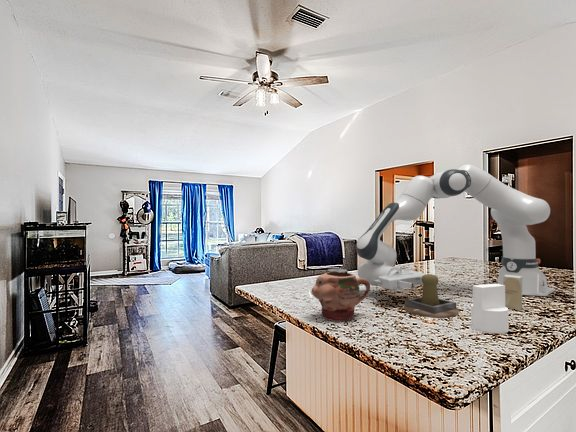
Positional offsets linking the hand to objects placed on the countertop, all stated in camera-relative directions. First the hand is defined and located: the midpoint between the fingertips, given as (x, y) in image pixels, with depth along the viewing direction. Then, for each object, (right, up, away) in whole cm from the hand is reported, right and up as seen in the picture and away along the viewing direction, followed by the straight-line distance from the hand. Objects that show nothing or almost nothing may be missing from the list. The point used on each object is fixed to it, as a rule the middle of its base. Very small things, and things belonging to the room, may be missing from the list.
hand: (421, 284), depth 112 cm
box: (+31, -8, -2) cm, 32 cm away
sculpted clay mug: (-29, -9, -9) cm, 32 cm away
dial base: (+2, -8, -3) cm, 9 cm away
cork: (+2, -7, -3) cm, 8 cm away
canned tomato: (-27, -9, +15) cm, 32 cm away
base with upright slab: (+11, -8, -21) cm, 25 cm away
